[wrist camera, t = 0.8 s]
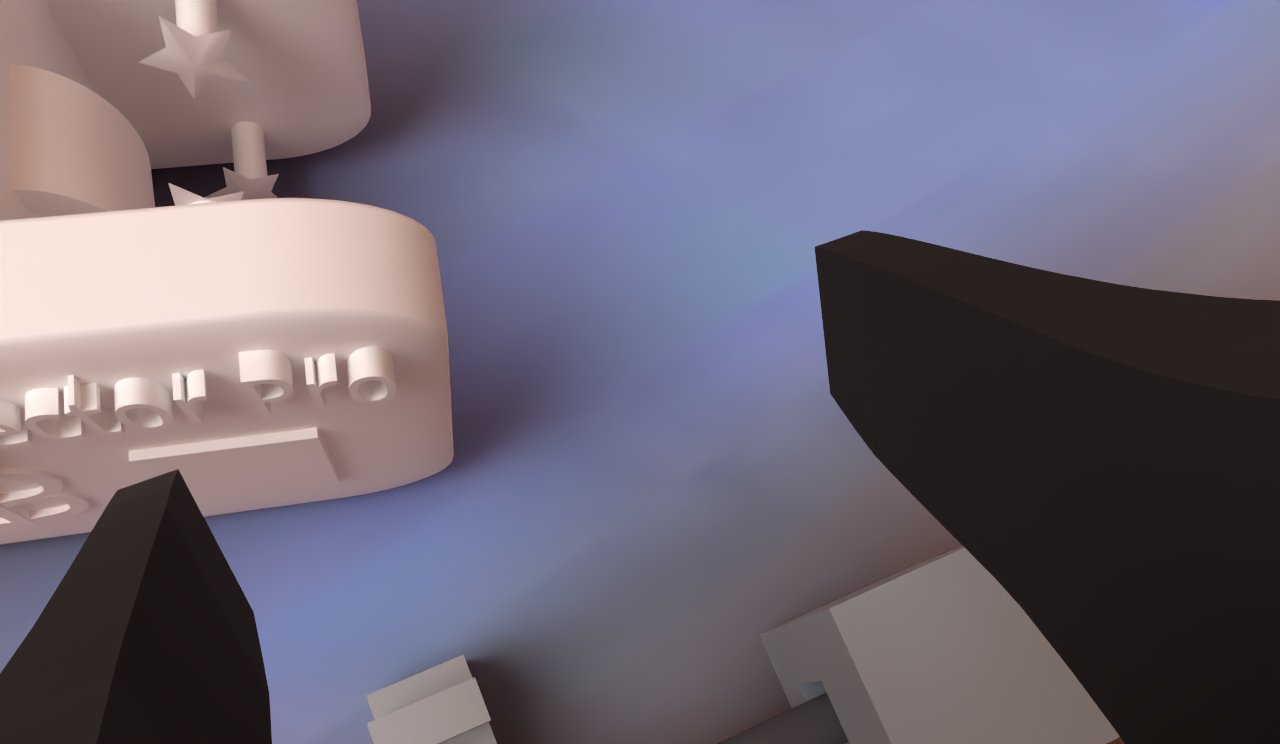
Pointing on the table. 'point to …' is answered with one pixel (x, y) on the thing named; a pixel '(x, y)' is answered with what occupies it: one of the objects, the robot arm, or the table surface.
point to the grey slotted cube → (935, 663)
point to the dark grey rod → (797, 726)
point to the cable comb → (432, 709)
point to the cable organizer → (200, 268)
